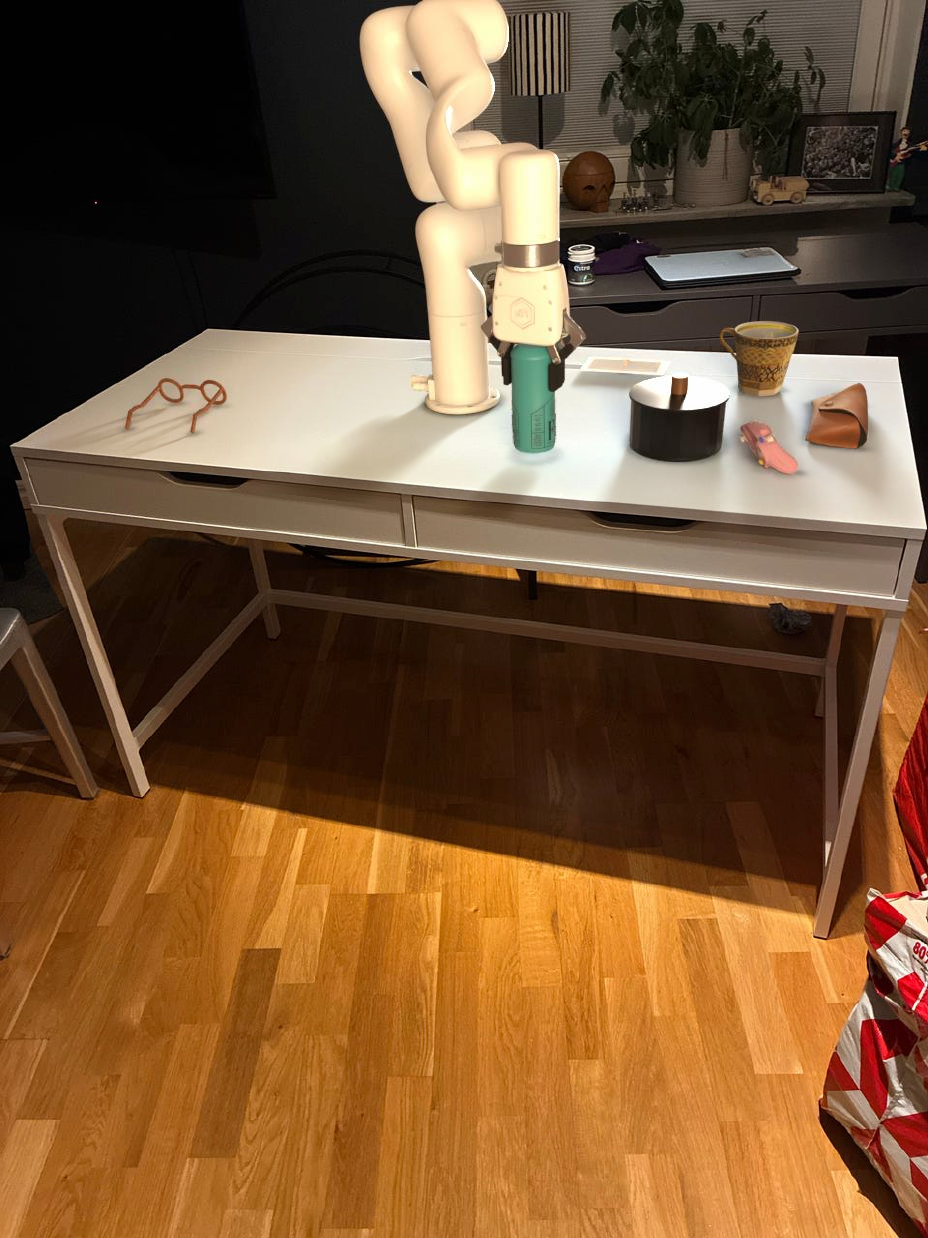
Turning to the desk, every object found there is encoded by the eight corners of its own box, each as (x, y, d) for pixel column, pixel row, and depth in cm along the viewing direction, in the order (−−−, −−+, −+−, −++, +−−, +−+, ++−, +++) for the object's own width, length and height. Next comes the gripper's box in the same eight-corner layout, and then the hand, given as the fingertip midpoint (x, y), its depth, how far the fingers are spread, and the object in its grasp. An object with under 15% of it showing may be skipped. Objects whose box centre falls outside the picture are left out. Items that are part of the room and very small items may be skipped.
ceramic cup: (800, 386, 158) (809, 326, 152) (774, 403, 151) (782, 342, 146) (729, 373, 165) (735, 315, 159) (701, 389, 159) (706, 330, 153)
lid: (622, 414, 132) (623, 389, 131) (635, 381, 144) (636, 358, 142) (726, 419, 129) (728, 394, 127) (731, 385, 140) (733, 361, 138)
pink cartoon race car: (747, 459, 138) (730, 420, 134) (776, 443, 137) (759, 404, 133) (771, 487, 129) (754, 447, 126) (802, 471, 128) (785, 430, 125)
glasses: (230, 406, 165) (224, 378, 162) (193, 434, 154) (186, 405, 152) (164, 403, 168) (158, 375, 166) (123, 430, 158) (116, 401, 155)
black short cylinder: (623, 459, 136) (625, 409, 132) (636, 425, 147) (638, 378, 143) (718, 465, 133) (723, 414, 129) (724, 429, 144) (728, 381, 140)
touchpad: (663, 381, 163) (664, 368, 162) (579, 376, 168) (579, 364, 167) (670, 366, 169) (671, 354, 168) (589, 362, 174) (589, 350, 173)
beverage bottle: (553, 464, 136) (553, 325, 125) (508, 462, 138) (504, 325, 127) (558, 446, 142) (559, 312, 131) (515, 445, 143) (512, 312, 132)
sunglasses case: (808, 398, 151) (836, 364, 147) (844, 422, 151) (873, 389, 147) (804, 442, 137) (835, 405, 132) (844, 468, 137) (877, 432, 133)
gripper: (460, 256, 126) (467, 386, 135) (578, 264, 118) (576, 402, 127) (488, 244, 131) (493, 370, 141) (602, 252, 123) (599, 384, 133)
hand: (533, 384), depth 134 cm, fingers closed on beverage bottle, 6 cm apart
